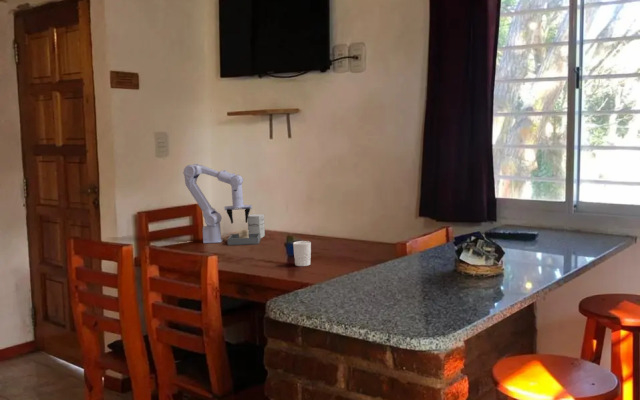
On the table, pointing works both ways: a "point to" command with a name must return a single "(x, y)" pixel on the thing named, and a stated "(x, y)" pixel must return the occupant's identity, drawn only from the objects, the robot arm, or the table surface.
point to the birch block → (243, 234)
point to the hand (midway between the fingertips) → (239, 222)
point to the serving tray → (244, 239)
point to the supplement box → (256, 224)
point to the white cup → (302, 253)
